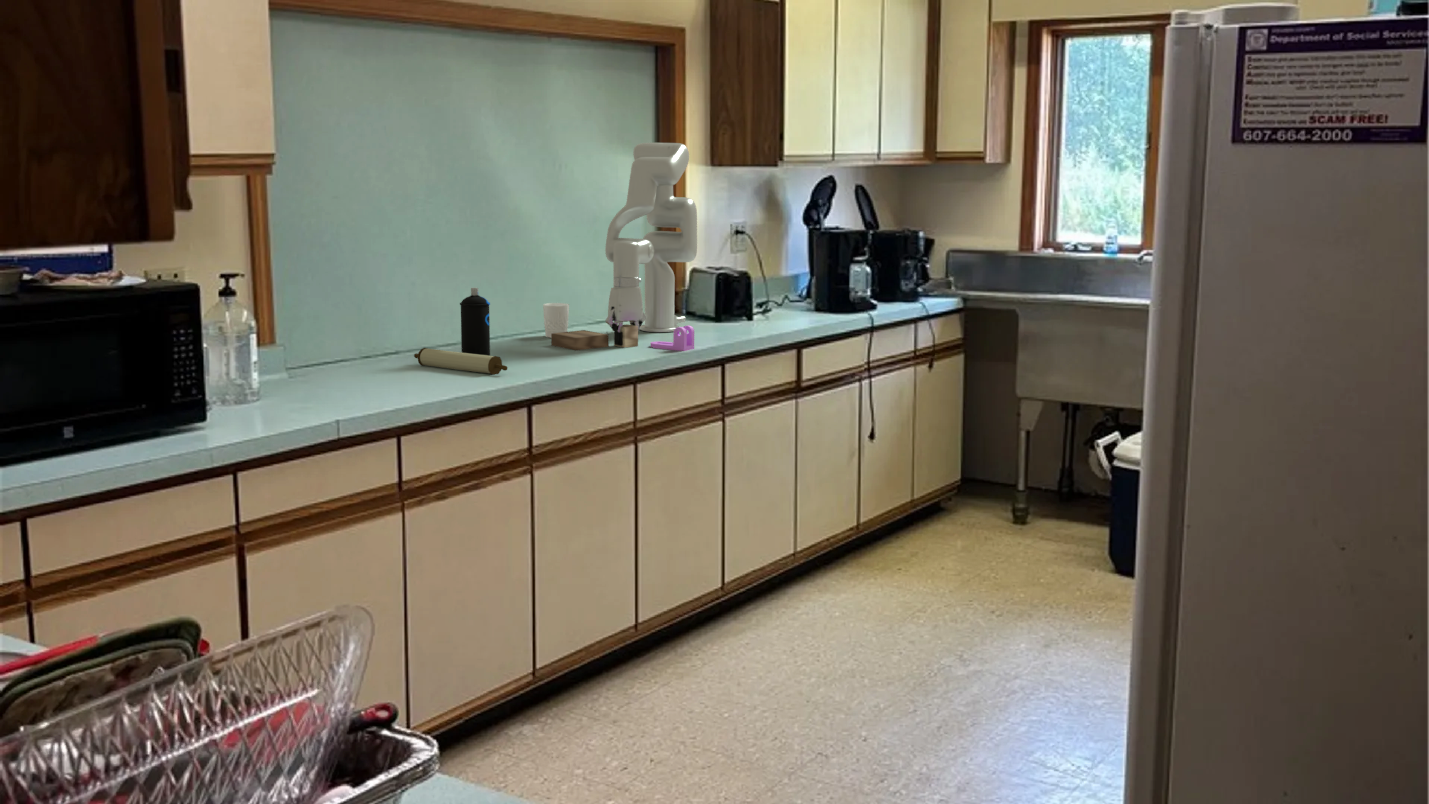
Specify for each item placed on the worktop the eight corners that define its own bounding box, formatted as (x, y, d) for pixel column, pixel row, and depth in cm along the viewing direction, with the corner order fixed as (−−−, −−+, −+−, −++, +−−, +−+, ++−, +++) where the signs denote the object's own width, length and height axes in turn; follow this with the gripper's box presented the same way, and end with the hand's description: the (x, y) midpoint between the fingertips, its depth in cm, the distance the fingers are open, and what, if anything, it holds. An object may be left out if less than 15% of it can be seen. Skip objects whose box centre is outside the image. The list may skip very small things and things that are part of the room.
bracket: (694, 349, 404) (694, 325, 403) (684, 351, 399) (684, 327, 398) (657, 345, 410) (657, 322, 409) (646, 347, 406) (647, 324, 404)
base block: (583, 343, 414) (583, 330, 413) (608, 347, 406) (608, 334, 405) (551, 346, 406) (551, 333, 405) (575, 351, 398) (575, 338, 397)
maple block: (627, 344, 411) (627, 324, 410) (637, 346, 407) (638, 326, 406) (614, 345, 407) (614, 325, 406) (624, 347, 404) (624, 327, 403)
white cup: (571, 335, 428) (571, 303, 426) (566, 338, 420) (566, 306, 418) (546, 334, 428) (546, 302, 427) (540, 338, 421) (540, 305, 419)
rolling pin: (407, 366, 368) (406, 347, 367) (422, 363, 372) (421, 345, 371) (500, 378, 351) (499, 358, 350) (514, 375, 356) (513, 356, 355)
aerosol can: (465, 363, 371) (464, 290, 367) (456, 359, 378) (455, 286, 375) (495, 361, 375) (494, 288, 371) (485, 357, 382) (484, 285, 378)
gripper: (640, 280, 412) (640, 340, 416) (595, 283, 401) (595, 345, 404) (656, 282, 407) (656, 343, 410) (611, 285, 395) (611, 348, 399)
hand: (626, 343), depth 407 cm, fingers closed on maple block, 5 cm apart
